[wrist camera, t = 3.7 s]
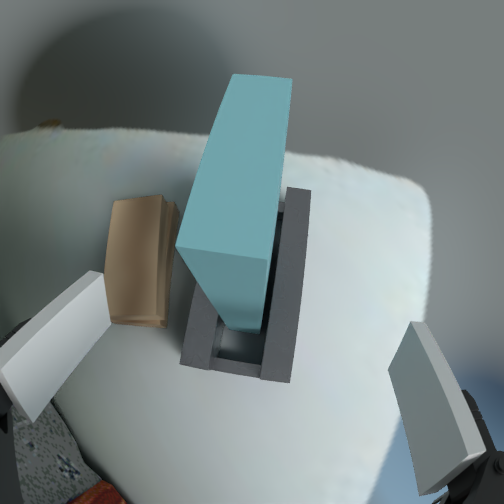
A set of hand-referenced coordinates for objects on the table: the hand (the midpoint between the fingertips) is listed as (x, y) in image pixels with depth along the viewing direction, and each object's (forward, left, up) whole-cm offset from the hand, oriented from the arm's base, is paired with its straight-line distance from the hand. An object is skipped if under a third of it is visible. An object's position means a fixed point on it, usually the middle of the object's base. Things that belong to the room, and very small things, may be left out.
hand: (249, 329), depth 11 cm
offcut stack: (-12, 0, -13) cm, 17 cm away
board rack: (-3, +4, -12) cm, 13 cm away
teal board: (-3, +4, -12) cm, 13 cm away
